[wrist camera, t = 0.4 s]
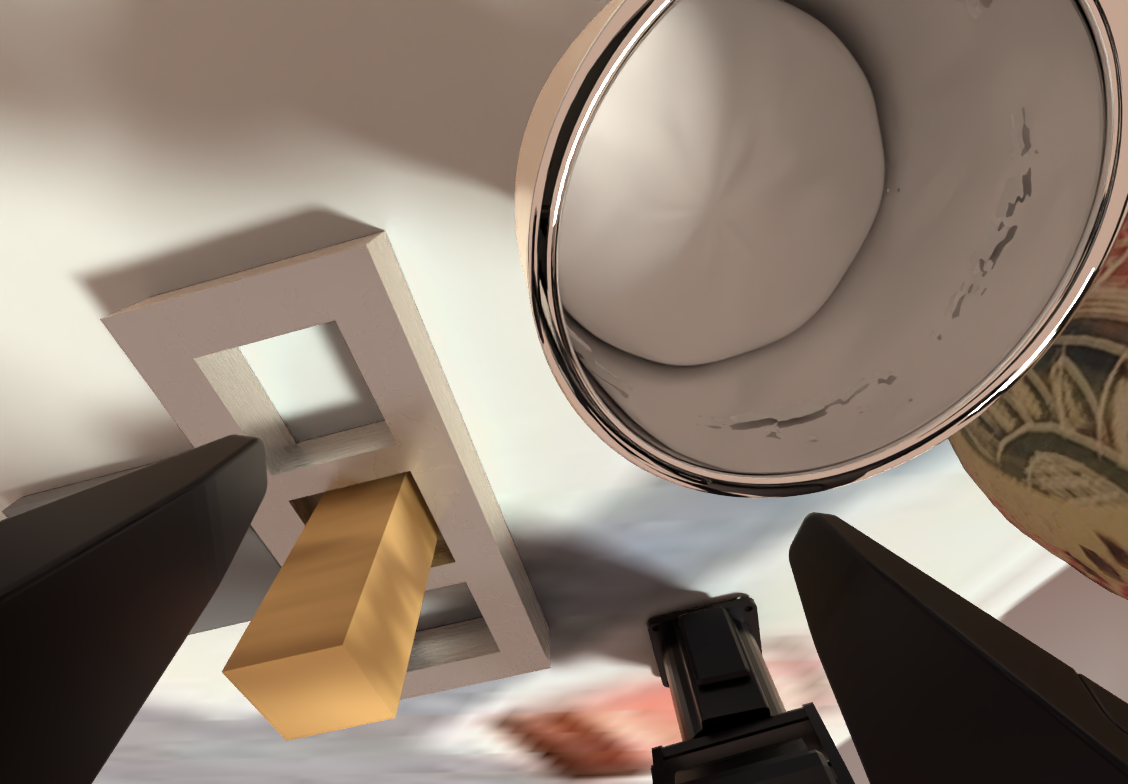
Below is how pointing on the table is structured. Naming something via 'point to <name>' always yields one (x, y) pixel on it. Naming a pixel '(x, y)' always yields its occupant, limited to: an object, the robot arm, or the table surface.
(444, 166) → the table surface
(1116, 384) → the ceramic jug
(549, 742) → the table surface
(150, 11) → the table surface
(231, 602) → the mat
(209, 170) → the table surface
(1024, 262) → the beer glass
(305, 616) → the peg
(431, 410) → the grey flat frame
